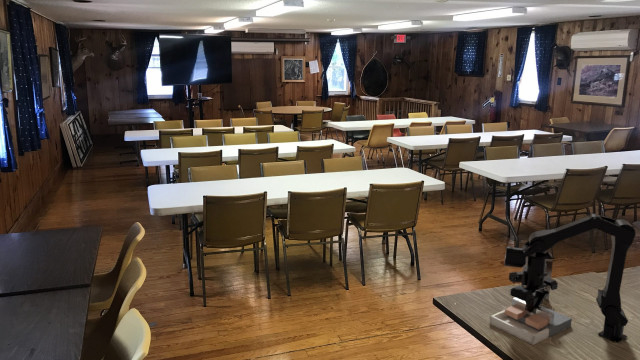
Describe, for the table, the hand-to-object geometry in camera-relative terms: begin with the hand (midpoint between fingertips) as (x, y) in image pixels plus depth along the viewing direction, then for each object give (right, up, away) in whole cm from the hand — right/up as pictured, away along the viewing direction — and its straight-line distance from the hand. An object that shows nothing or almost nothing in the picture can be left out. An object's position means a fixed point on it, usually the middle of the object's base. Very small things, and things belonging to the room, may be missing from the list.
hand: (532, 311), depth 174 cm
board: (+3, -5, +3) cm, 6 cm away
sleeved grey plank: (0, -1, 0) cm, 2 cm away
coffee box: (+11, 0, +23) cm, 25 cm away
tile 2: (-1, -3, -5) cm, 6 cm away
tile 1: (-5, -2, +2) cm, 6 cm away
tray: (-6, -6, -3) cm, 9 cm away
